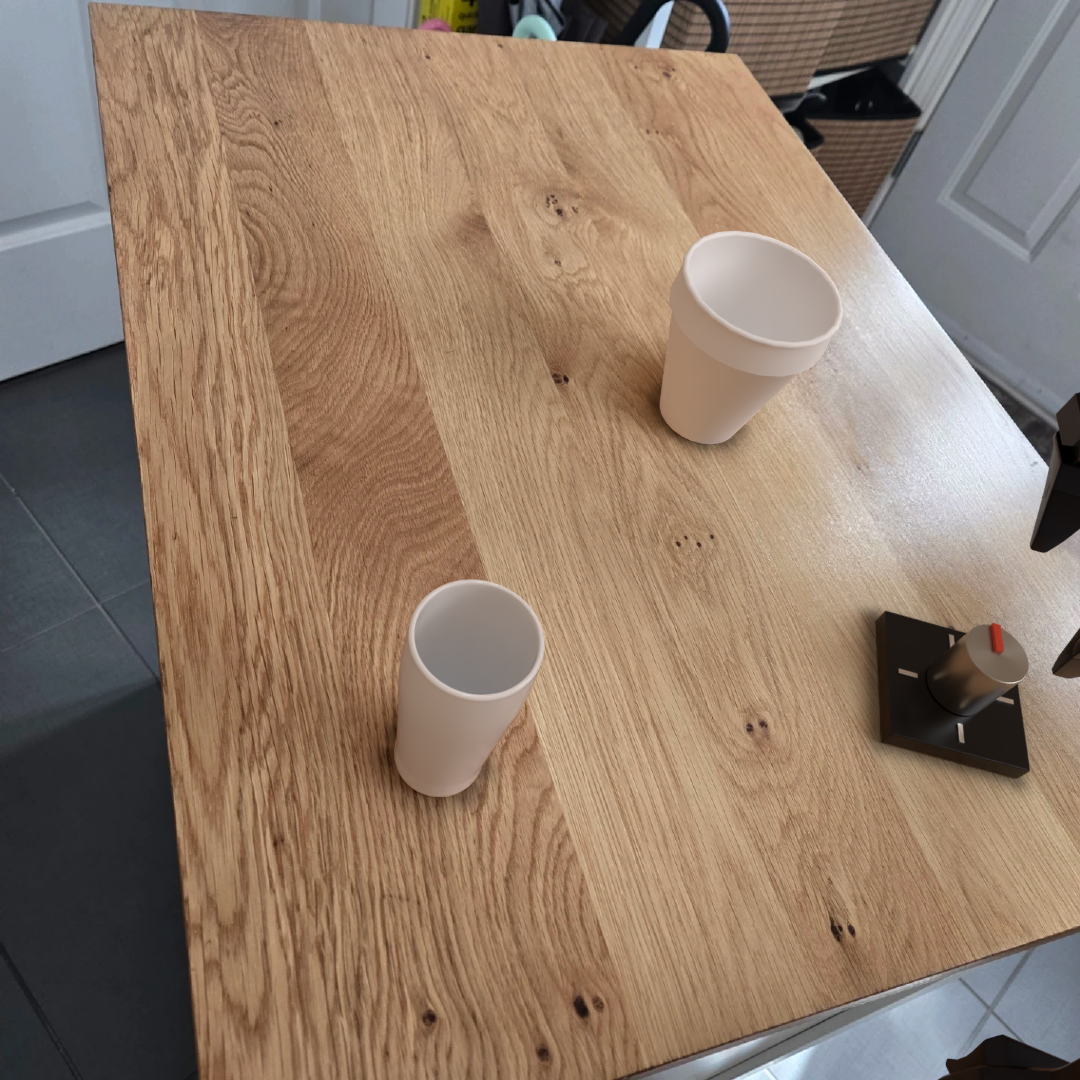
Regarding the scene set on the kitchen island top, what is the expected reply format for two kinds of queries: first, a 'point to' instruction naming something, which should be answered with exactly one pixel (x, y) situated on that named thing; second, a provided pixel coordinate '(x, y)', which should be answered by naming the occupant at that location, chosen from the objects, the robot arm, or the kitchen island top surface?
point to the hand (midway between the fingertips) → (1047, 609)
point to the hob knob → (977, 670)
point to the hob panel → (923, 720)
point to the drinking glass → (462, 681)
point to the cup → (741, 330)
